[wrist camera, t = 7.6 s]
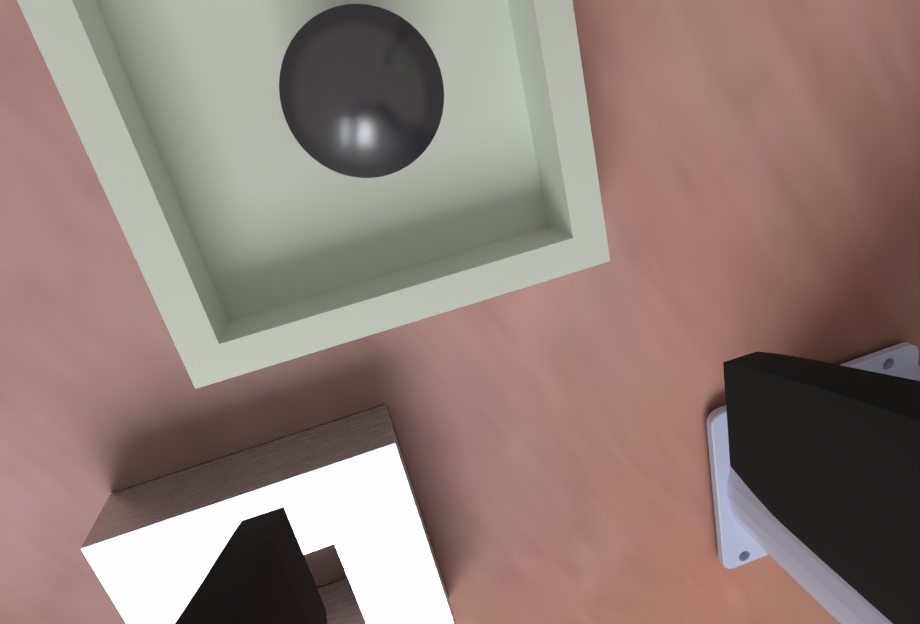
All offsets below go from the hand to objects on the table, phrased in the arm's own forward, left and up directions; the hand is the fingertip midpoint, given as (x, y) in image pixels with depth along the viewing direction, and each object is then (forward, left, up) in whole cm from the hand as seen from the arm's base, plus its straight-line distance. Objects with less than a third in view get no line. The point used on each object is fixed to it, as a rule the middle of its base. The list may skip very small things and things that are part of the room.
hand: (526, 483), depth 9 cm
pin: (+1, -6, -10) cm, 11 cm away
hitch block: (+7, +8, -10) cm, 15 cm away
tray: (+1, -6, -10) cm, 12 cm away
